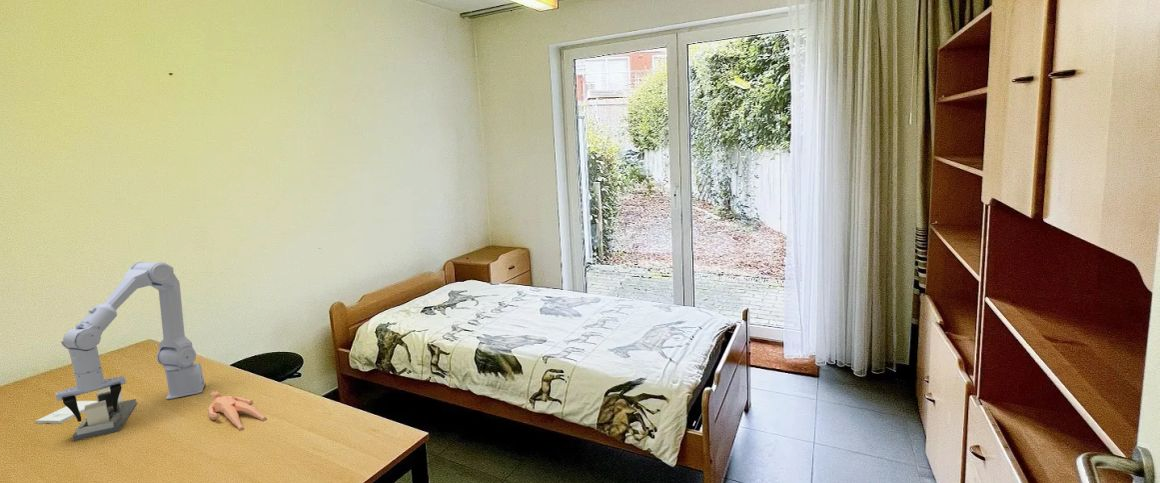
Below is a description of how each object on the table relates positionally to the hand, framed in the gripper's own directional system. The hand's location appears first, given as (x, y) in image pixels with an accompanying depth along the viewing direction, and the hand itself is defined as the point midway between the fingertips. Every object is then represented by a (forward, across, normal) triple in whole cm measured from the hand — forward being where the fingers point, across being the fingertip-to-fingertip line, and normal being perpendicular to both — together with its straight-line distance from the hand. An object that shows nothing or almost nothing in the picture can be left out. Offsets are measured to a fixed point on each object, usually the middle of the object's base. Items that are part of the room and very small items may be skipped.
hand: (97, 415), depth 156 cm
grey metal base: (+4, -2, -6) cm, 7 cm away
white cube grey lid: (+3, 0, 0) cm, 3 cm away
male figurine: (+5, -29, +19) cm, 35 cm away
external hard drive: (+5, +7, -22) cm, 24 cm away
